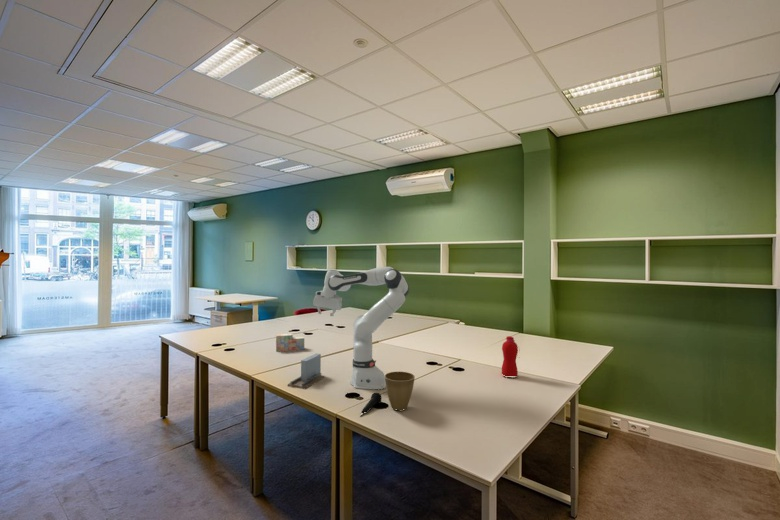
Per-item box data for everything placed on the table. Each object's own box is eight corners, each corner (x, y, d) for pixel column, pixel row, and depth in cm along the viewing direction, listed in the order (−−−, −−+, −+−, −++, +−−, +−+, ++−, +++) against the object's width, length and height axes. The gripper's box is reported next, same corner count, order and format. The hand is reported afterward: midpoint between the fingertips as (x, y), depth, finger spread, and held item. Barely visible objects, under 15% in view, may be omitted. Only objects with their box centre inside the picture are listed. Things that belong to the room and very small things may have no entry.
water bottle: (521, 379, 225) (521, 338, 224) (502, 378, 227) (503, 337, 226) (518, 374, 234) (519, 335, 233) (501, 373, 236) (501, 334, 235)
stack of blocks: (304, 348, 293) (304, 332, 293) (304, 350, 287) (304, 334, 287) (276, 349, 288) (276, 334, 287) (275, 351, 282) (276, 335, 281)
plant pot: (418, 412, 177) (419, 379, 176) (389, 416, 172) (389, 382, 172) (408, 400, 191) (408, 369, 190) (380, 403, 186) (381, 372, 186)
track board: (323, 377, 224) (323, 373, 224) (305, 388, 205) (305, 384, 205) (306, 375, 228) (306, 371, 228) (287, 385, 209) (287, 381, 209)
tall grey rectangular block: (320, 373, 229) (320, 354, 229) (306, 381, 214) (306, 361, 214) (315, 372, 230) (315, 353, 230) (301, 380, 215) (301, 360, 215)
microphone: (363, 423, 171) (382, 402, 189) (366, 413, 170) (384, 393, 188) (353, 418, 173) (372, 397, 191) (356, 408, 172) (375, 388, 190)
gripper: (345, 296, 241) (341, 317, 240) (318, 292, 249) (315, 312, 248) (340, 296, 236) (336, 317, 234) (313, 291, 243) (310, 312, 242)
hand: (325, 315), depth 241 cm, fingers open, 8 cm apart
